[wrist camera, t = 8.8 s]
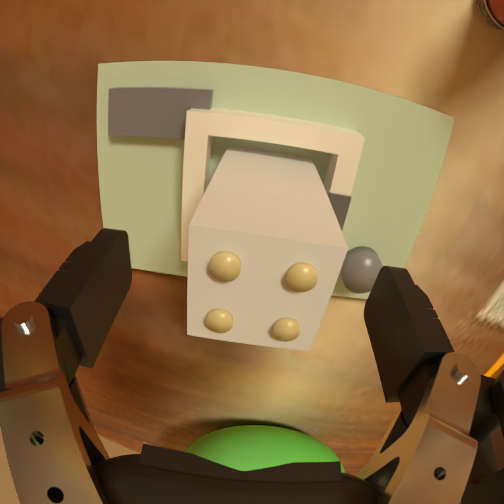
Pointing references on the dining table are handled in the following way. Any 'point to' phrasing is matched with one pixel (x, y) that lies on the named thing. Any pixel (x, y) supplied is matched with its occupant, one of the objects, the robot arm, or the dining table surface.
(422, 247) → the dining table surface
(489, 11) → the lighter
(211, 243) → the plug
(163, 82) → the board
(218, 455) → the toy bird
